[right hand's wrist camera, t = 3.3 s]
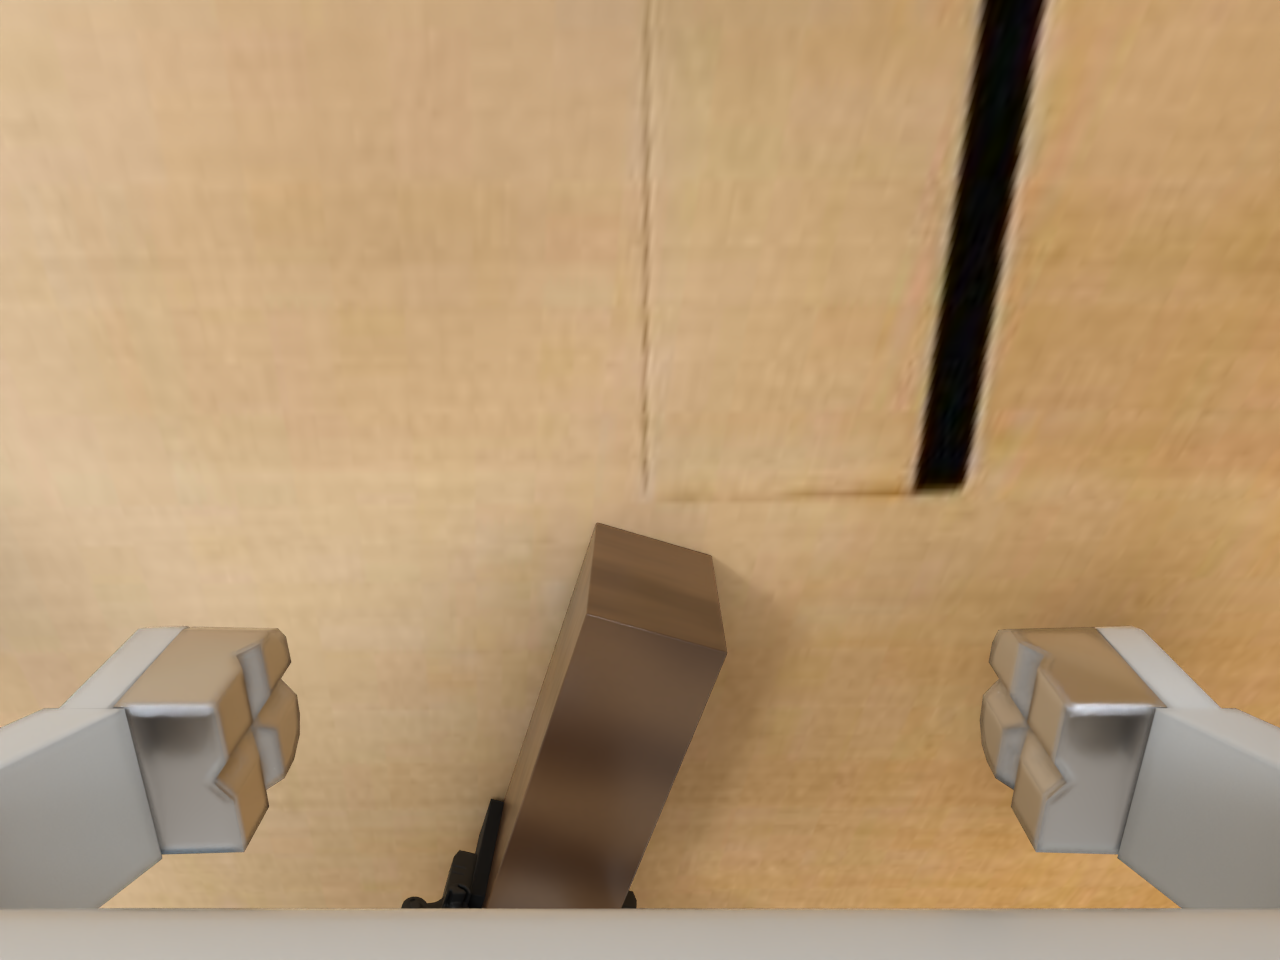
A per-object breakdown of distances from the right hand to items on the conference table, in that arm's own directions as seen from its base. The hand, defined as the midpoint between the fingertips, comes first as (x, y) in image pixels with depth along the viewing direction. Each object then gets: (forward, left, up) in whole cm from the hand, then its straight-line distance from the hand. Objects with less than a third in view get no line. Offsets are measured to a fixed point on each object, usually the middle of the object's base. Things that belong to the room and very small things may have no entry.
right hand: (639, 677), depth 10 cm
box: (+13, +20, -31) cm, 39 cm away
